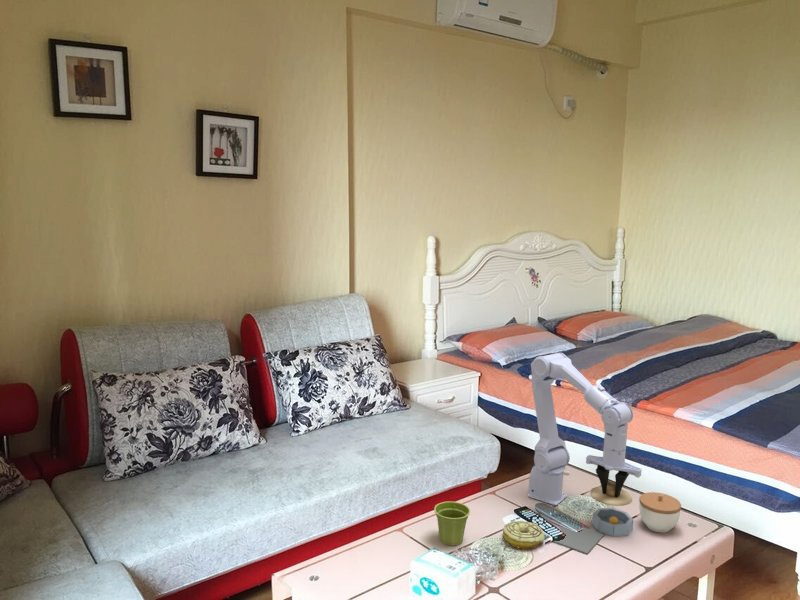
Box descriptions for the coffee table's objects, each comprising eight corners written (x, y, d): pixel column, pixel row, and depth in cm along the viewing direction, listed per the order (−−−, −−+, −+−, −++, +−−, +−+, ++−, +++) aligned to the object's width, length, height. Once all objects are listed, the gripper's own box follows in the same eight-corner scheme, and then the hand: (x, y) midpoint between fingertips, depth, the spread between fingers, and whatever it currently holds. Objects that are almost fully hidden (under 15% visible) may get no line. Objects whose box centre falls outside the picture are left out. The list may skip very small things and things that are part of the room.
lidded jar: (671, 518, 186) (674, 487, 184) (684, 538, 175) (687, 506, 174) (633, 516, 187) (635, 485, 185) (643, 535, 176) (645, 503, 175)
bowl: (587, 527, 180) (588, 517, 179) (601, 514, 188) (601, 503, 187) (623, 540, 174) (624, 529, 173) (636, 525, 182) (637, 514, 181)
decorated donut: (551, 546, 171) (552, 533, 170) (517, 555, 166) (518, 541, 166) (528, 527, 180) (529, 514, 179) (495, 535, 176) (496, 522, 175)
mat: (543, 538, 174) (543, 537, 174) (562, 521, 183) (562, 519, 183) (587, 554, 167) (587, 553, 167) (604, 535, 176) (604, 534, 176)
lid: (584, 497, 178) (584, 485, 177) (598, 484, 186) (599, 472, 186) (624, 509, 171) (625, 496, 171) (637, 495, 180) (638, 483, 179)
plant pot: (443, 527, 179) (443, 498, 178) (474, 536, 174) (475, 506, 173) (427, 543, 171) (428, 512, 170) (460, 553, 166) (461, 522, 165)
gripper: (583, 445, 177) (580, 491, 180) (637, 459, 169) (633, 507, 171) (592, 437, 183) (589, 482, 185) (645, 450, 174) (641, 497, 177)
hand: (611, 494), depth 179 cm, fingers closed on lid, 3 cm apart
